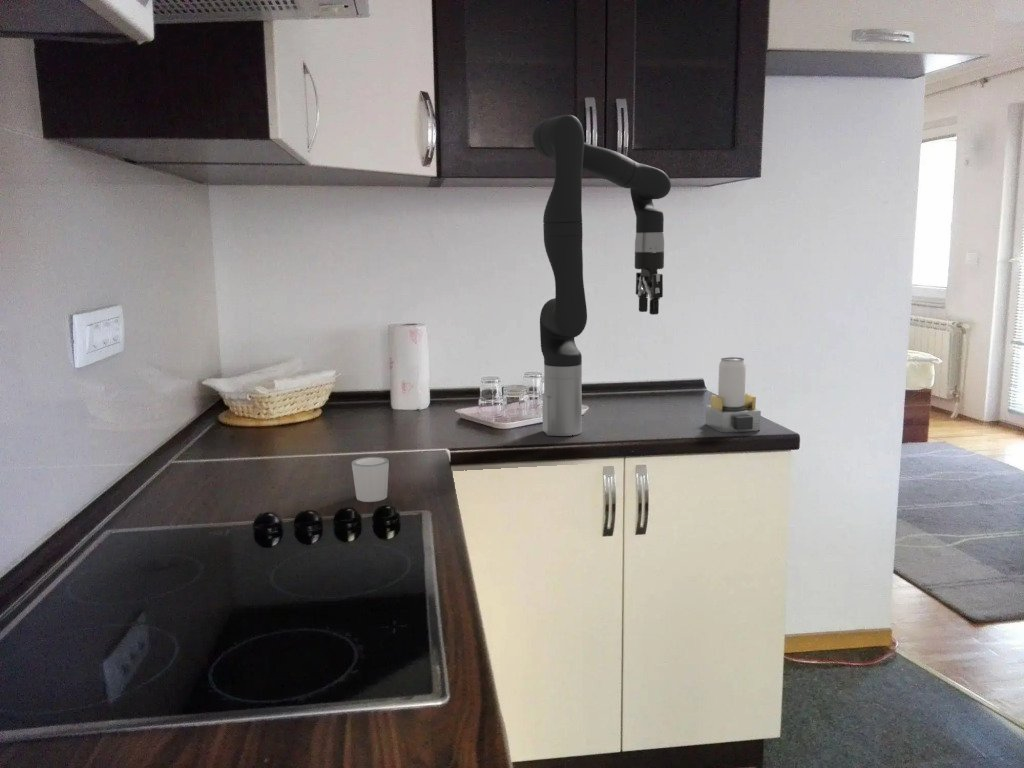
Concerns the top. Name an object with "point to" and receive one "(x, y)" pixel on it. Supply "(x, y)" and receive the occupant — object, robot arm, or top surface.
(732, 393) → the can
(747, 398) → the motor housing
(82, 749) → the top surface
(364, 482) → the light grey cup
